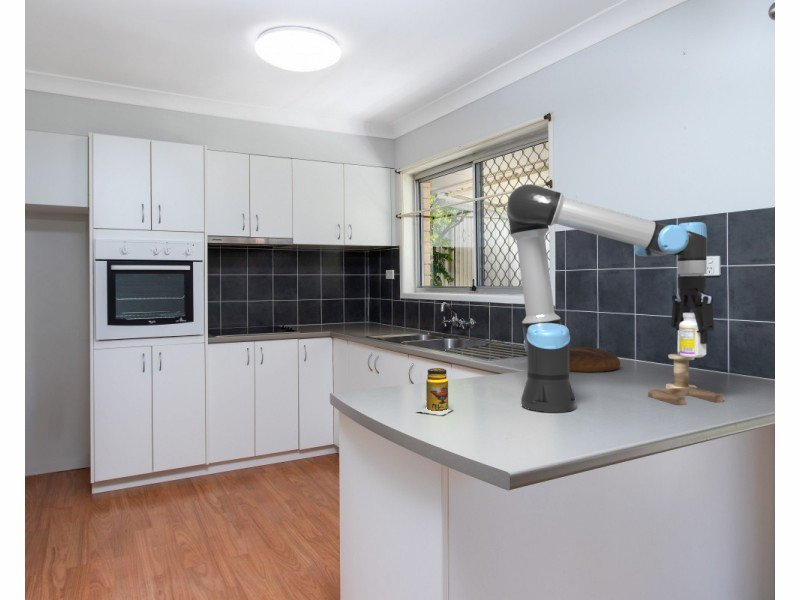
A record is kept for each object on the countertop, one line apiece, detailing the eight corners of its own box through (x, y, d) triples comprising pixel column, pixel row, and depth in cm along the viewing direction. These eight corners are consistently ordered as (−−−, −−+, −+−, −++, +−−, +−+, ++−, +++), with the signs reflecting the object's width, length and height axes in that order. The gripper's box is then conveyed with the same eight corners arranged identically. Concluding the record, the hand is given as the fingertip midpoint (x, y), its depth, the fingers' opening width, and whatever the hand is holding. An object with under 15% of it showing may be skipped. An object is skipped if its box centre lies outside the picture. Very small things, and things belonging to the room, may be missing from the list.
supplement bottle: (698, 354, 161) (698, 312, 160) (709, 358, 154) (709, 313, 154) (675, 354, 161) (675, 312, 161) (684, 357, 155) (685, 313, 154)
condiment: (443, 416, 143) (442, 372, 143) (415, 413, 147) (414, 369, 147) (454, 410, 149) (453, 368, 149) (427, 407, 154) (426, 366, 153)
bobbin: (679, 393, 169) (679, 357, 168) (659, 387, 178) (659, 354, 177) (703, 391, 171) (703, 356, 170) (682, 386, 180) (682, 353, 179)
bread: (588, 376, 201) (588, 353, 201) (535, 367, 225) (535, 346, 224) (635, 369, 216) (635, 347, 216) (581, 361, 239) (581, 341, 239)
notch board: (676, 405, 153) (676, 398, 153) (648, 396, 165) (648, 389, 165) (723, 401, 156) (723, 394, 156) (692, 393, 168) (692, 387, 168)
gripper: (730, 274, 148) (729, 357, 149) (678, 275, 167) (678, 348, 168) (707, 275, 146) (706, 358, 147) (657, 276, 166) (657, 349, 166)
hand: (691, 353), depth 158 cm, fingers closed on supplement bottle, 7 cm apart
